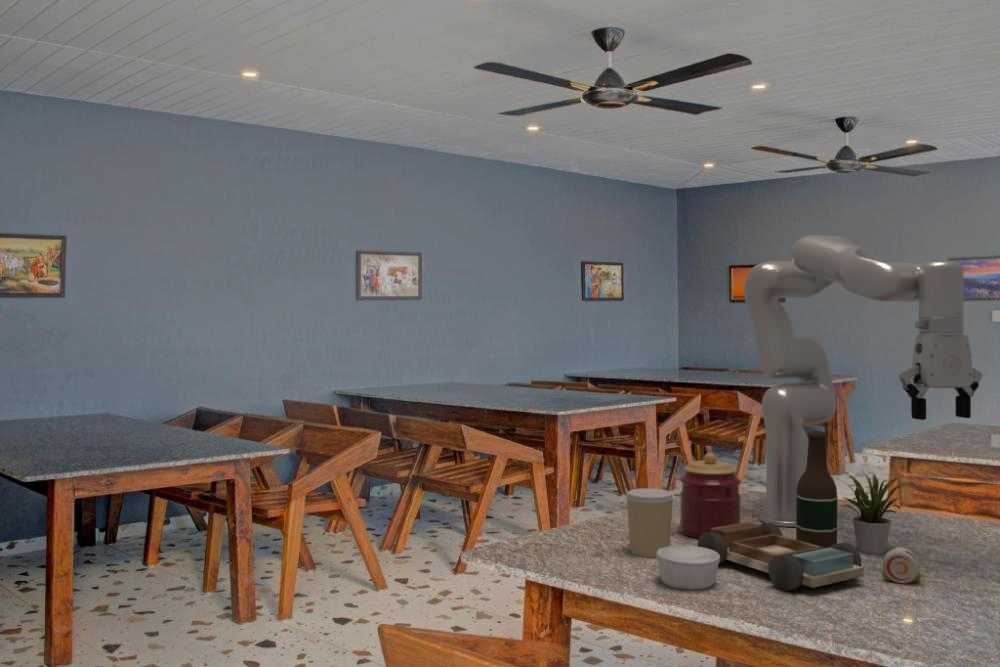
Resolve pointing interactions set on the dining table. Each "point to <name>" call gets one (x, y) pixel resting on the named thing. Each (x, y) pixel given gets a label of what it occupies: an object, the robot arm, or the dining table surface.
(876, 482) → the house plant
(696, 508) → the canister
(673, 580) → the ramekin
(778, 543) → the chassis
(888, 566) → the roller toy
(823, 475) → the beer bottle
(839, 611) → the dining table surface
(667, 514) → the coffee cup
